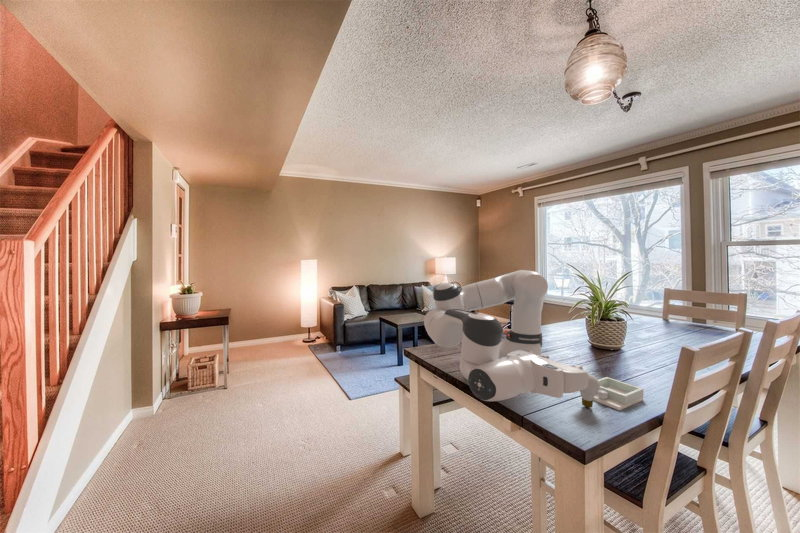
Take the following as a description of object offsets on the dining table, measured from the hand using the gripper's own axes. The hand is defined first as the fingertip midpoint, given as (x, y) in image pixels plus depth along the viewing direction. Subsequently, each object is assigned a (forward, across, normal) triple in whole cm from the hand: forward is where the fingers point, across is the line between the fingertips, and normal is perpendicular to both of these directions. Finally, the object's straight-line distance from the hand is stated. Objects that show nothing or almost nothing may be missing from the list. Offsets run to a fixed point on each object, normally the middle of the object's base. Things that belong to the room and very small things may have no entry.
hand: (562, 363), depth 81 cm
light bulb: (+12, -1, -16) cm, 20 cm away
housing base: (+26, -1, -16) cm, 30 cm away
